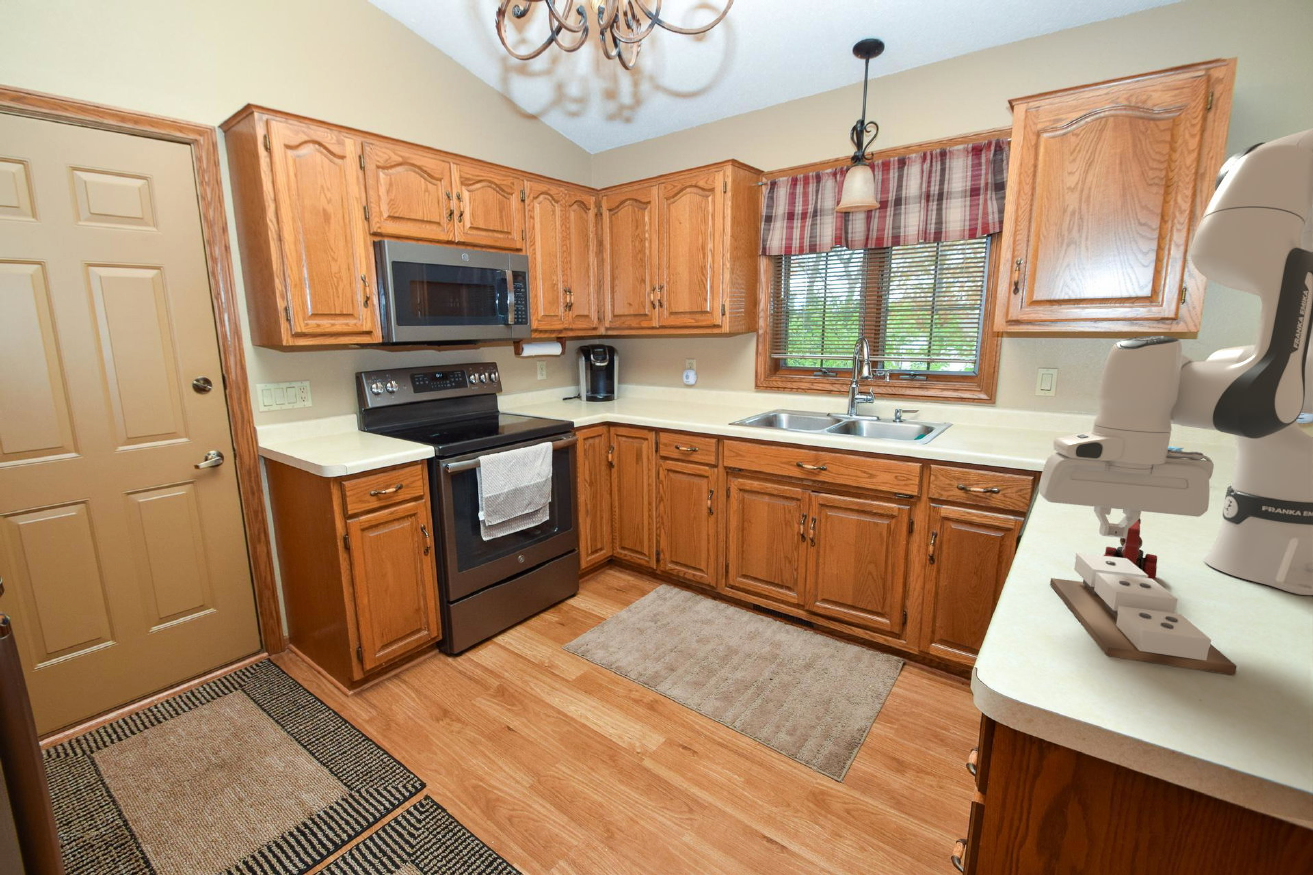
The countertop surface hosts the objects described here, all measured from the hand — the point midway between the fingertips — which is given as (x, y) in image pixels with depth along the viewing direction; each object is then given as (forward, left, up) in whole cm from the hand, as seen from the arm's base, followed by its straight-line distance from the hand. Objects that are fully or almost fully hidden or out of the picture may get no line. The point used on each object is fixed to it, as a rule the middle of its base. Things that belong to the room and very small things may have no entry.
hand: (1112, 536), depth 86 cm
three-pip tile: (0, +16, -9) cm, 18 cm away
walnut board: (0, +8, -10) cm, 13 cm away
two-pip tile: (0, +8, -7) cm, 11 cm away
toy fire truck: (-7, -11, -11) cm, 17 cm away
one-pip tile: (0, 0, -7) cm, 7 cm away
